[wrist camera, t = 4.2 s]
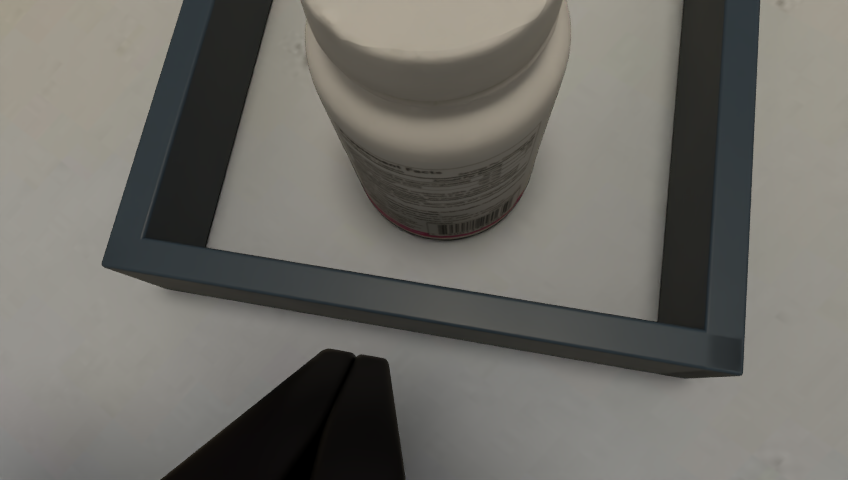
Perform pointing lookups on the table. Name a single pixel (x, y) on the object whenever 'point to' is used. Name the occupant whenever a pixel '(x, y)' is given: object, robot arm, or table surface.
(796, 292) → the table surface
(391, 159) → the pill bottle
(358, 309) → the bin
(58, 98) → the table surface
